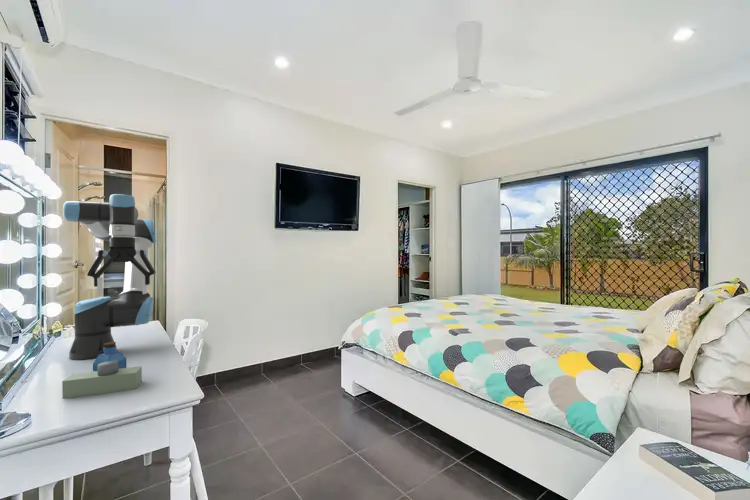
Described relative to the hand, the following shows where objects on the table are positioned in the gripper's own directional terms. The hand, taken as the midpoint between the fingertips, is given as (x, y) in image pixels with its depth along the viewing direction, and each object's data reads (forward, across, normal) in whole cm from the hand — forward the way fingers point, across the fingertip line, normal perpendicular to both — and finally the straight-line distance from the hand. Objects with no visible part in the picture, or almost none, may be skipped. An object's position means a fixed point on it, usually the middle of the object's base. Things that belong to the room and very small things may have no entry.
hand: (122, 294), depth 125 cm
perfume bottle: (+27, 0, -14) cm, 30 cm away
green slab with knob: (+27, +1, -17) cm, 32 cm away
